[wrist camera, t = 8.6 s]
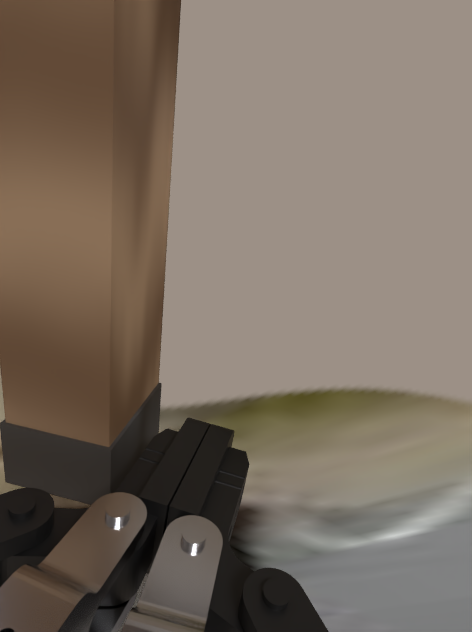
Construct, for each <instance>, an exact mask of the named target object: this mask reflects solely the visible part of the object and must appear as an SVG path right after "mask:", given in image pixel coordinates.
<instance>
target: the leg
mask: <svg viewBox="0 0 472 632" xmlns="http://www.w3.org/2000/svg"><path fill="white" fill-rule="evenodd" d="M180 8H181V0H0V366H1V377H2V388H3V398H4V409H5V420H4V421H2V422H1V423H0V431H1V441H2V451H3V461H4V471H5V481H6V482H7V483H11V484H15V485H18V486H22V487H26V488H37V489H41V490H44V491H45V492H47V493H48V494H52V495H56V496H60V497H64V498H67V499H71V500H75V501H79V502H82V503H86V504H90V505H92V504H93V503H94V502H95V501H96V500H97V499H99V498H100V497H102V496H104V495H107V494H110V493H115V491H116V490H117V489H118V487H119V486H120V484H121V483H122V481H123V480H124V479H125V477H126V476H127V474H128V473H129V471H130V470H131V469H132V467H133V466H134V464H135V463H136V461H137V460H138V459H139V458H140V456H141V454H142V453H143V451H144V450H146V447H147V446H148V444H149V443H150V441H151V440H152V439H153V437H154V436H156V435H157V434H158V432H159V415H160V397H161V383H159V367H160V351H161V333H162V316H163V299H164V282H165V264H166V247H167V231H168V214H169V197H170V180H171V162H172V145H173V128H174V112H175V94H176V78H177V77H176V76H177V60H178V43H179V25H180Z"/></svg>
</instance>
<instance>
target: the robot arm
mask: <svg viewBox="0 0 472 632" xmlns="http://www.w3.org/2000/svg"><path fill="white" fill-rule="evenodd" d="M233 437H234V430H230V429H227V428H223V427H220V426H216V425H213V424H209V423H206V422H202V421H199V420H195V419H192V418H187V419H186V421H185V423H184V424H183V426H182V427H181V429H180V431H179V432H176V431H173V430H170V429H166V430H164V431H162V432H161V433H159V434H157V435H156V436H154V437H153V439H152V440H151V441H150V443H149V444H148V446H147V447H146V450H144V451H143V453H142V454H141V456H140V458H139V459H138V460H137V461H136V463H135V464H134V466H133V467H132V469H131V470H130V471H129V473H128V474H127V476H126V477H125V479H124V480H123V481H122V483H121V484H120V486H119V487H118V489H117V490H116V491H115V493H110V494H107V495H104V496H102V497H100V498H99V499H97V500H96V501H95V502H94V503H93V504H92V505H91V506H90V507H89V508H84V509H66V508H54V501H53V498H52V497H51V495H50V494H48V493H47V492H45V491H44V490H41V489H37V488H21V489H17V490H13V491H10V492H7V493H4V494H1V495H0V632H118V631H119V629H120V627H121V625H122V624H123V622H124V620H125V618H126V617H127V618H126V621H125V623H124V626H123V628H122V631H121V632H328V630H327V628H326V627H325V625H324V623H323V622H322V620H321V618H320V617H319V615H318V613H317V612H316V610H315V608H314V607H313V605H312V603H311V602H310V600H309V598H308V597H307V595H306V593H305V592H304V590H303V588H302V587H301V586H300V584H299V583H298V582H297V581H296V580H295V579H294V578H293V577H292V576H291V575H289V574H288V573H286V572H284V571H282V570H279V569H275V568H263V569H259V570H257V571H255V572H254V571H253V570H251V569H250V568H249V567H247V566H246V565H244V564H243V563H242V562H241V561H240V560H239V559H238V558H237V557H236V556H235V554H234V553H233V551H232V549H231V547H230V544H229V540H230V537H231V534H232V530H233V527H234V524H235V520H236V517H237V514H238V510H239V507H240V503H241V499H242V494H243V490H244V486H245V481H246V477H247V472H248V468H249V462H248V458H247V454H246V452H245V451H242V450H238V449H235V448H231V446H232V442H233ZM146 573H148V574H149V575H148V577H147V580H146V583H145V585H144V588H143V591H142V593H141V596H140V599H139V601H138V603H137V606H136V607H135V608H132V606H133V604H134V602H135V600H136V596H137V590H138V589H139V587H140V585H141V582H142V580H143V578H144V576H145V574H146ZM131 608H132V609H131ZM129 611H130V612H129ZM128 613H129V614H128ZM127 615H128V616H127Z"/></svg>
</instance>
